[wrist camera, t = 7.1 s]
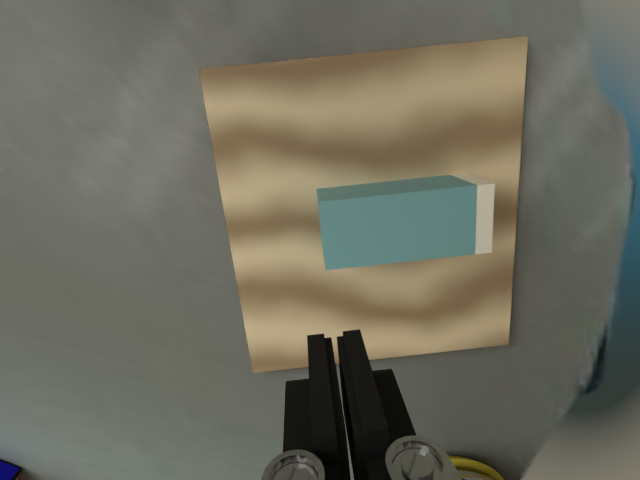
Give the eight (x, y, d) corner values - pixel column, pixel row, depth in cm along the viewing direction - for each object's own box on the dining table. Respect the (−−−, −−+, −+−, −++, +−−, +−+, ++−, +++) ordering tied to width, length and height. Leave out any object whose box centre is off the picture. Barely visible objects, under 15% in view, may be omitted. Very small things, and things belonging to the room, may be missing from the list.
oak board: (202, 71, 29) (198, 69, 28) (519, 39, 29) (528, 36, 28) (254, 364, 37) (253, 372, 36) (502, 337, 37) (508, 344, 36)
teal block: (318, 202, 26) (494, 183, 26) (316, 188, 31) (464, 173, 31) (325, 270, 27) (491, 252, 28) (322, 247, 32) (463, 232, 32)
